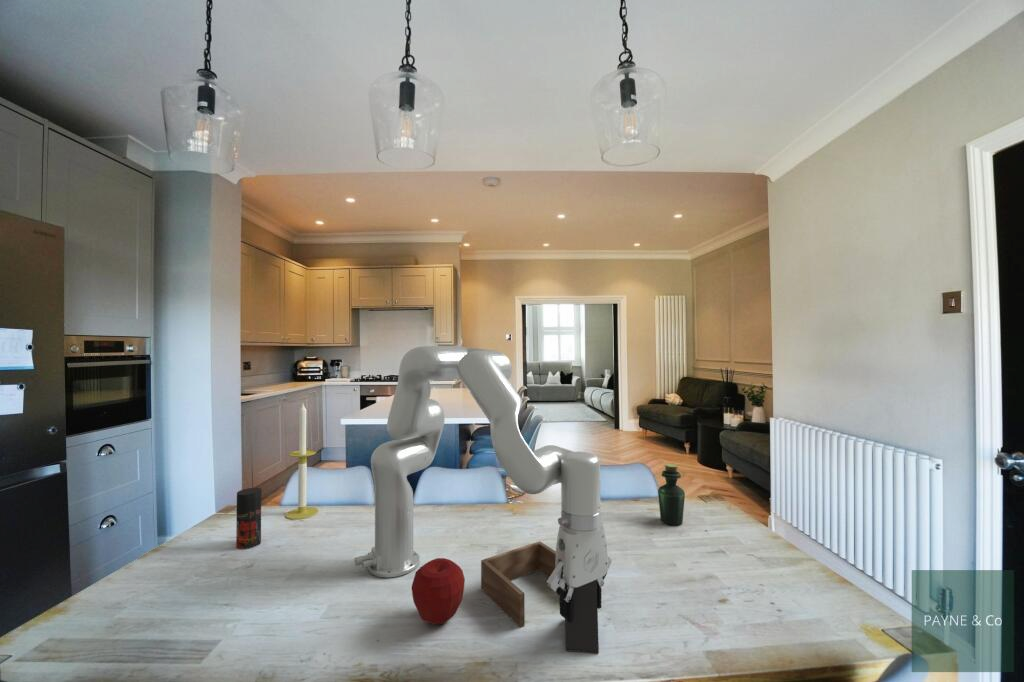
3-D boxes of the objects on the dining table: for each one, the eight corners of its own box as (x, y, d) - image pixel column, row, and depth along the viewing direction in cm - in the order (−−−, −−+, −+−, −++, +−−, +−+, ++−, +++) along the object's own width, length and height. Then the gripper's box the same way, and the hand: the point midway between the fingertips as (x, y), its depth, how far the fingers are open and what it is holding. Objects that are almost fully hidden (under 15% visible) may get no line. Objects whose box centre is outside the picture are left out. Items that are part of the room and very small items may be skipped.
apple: (416, 603, 90) (416, 549, 90) (466, 601, 90) (466, 547, 91) (406, 638, 79) (406, 577, 79) (463, 636, 79) (462, 575, 80)
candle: (290, 509, 143) (290, 400, 143) (321, 506, 145) (322, 399, 146) (281, 520, 133) (282, 404, 134) (315, 517, 135) (315, 403, 136)
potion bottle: (659, 526, 129) (659, 468, 129) (656, 515, 136) (656, 461, 137) (687, 528, 127) (687, 469, 127) (682, 517, 135) (682, 462, 135)
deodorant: (231, 547, 116) (231, 493, 116) (251, 538, 121) (252, 486, 121) (245, 550, 113) (246, 496, 114) (265, 541, 119) (266, 489, 119)
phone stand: (598, 654, 75) (598, 587, 75) (565, 651, 75) (565, 585, 76) (594, 621, 84) (594, 561, 84) (564, 619, 84) (564, 559, 85)
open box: (520, 627, 82) (520, 594, 82) (481, 588, 95) (481, 560, 95) (583, 598, 91) (583, 569, 91) (539, 567, 105) (539, 541, 105)
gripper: (558, 536, 72) (558, 640, 72) (626, 514, 82) (626, 606, 81) (533, 521, 78) (533, 616, 78) (598, 502, 88) (598, 587, 88)
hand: (580, 610), depth 80 cm, fingers closed on phone stand, 6 cm apart
